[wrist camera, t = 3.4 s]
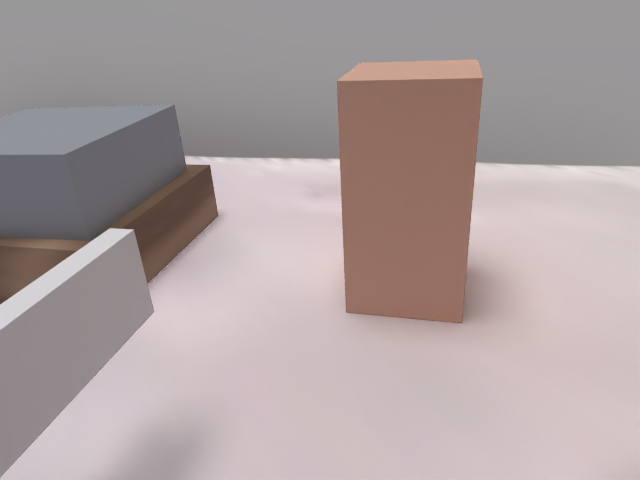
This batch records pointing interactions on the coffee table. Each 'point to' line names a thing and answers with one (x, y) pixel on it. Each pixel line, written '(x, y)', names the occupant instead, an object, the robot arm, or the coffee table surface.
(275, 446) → the coffee table surface
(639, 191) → the coffee table surface
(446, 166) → the terracotta tall block
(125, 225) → the walnut base block
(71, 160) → the slate top block
